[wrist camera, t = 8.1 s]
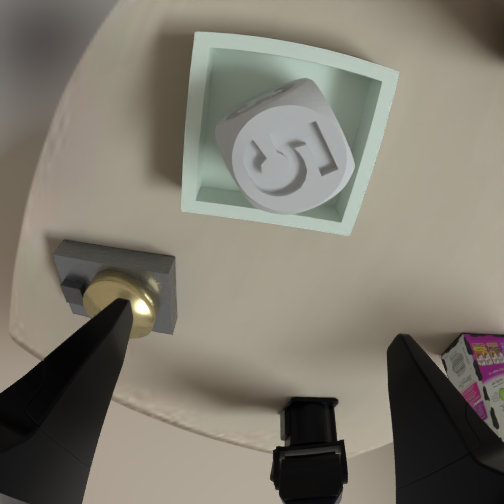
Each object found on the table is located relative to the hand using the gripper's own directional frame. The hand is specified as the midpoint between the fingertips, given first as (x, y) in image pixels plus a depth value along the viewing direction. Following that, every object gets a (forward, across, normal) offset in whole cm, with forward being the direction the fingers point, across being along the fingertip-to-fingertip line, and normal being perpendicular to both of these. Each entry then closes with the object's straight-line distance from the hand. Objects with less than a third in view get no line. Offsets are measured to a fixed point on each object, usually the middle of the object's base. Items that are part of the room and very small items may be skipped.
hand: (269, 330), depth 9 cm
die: (+11, 0, -4) cm, 12 cm away
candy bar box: (+12, -30, +15) cm, 36 cm away
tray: (+11, 0, -4) cm, 12 cm away
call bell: (+12, +11, +10) cm, 19 cm away
